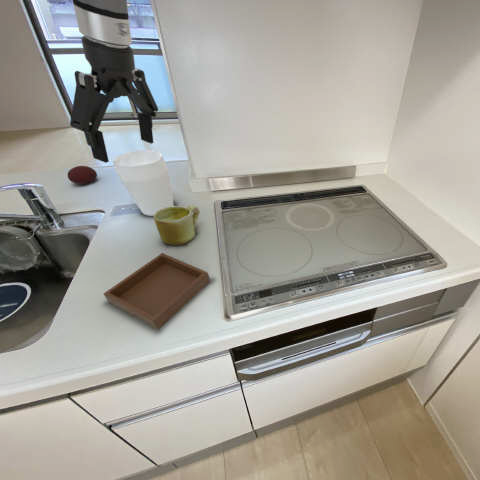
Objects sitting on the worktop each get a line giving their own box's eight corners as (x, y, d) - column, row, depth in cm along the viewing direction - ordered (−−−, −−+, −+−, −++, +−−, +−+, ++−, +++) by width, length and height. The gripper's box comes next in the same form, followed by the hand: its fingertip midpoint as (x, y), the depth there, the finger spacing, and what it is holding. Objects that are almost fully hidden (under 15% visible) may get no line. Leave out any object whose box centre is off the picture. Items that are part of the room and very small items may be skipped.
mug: (168, 251, 67) (158, 213, 64) (155, 244, 74) (145, 209, 70) (213, 238, 75) (206, 204, 72) (197, 233, 82) (191, 202, 79)
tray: (109, 302, 56) (102, 293, 54) (166, 261, 67) (162, 252, 65) (158, 329, 52) (152, 320, 50) (210, 281, 63) (207, 272, 61)
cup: (139, 223, 78) (113, 170, 68) (133, 204, 86) (109, 154, 75) (184, 211, 85) (167, 161, 74) (174, 195, 92) (158, 147, 82)
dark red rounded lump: (69, 182, 95) (60, 167, 92) (95, 175, 100) (87, 160, 97) (76, 189, 92) (66, 173, 88) (102, 181, 97) (94, 166, 93)
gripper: (60, 49, 38) (94, 176, 51) (171, 48, 57) (175, 140, 70) (10, 29, 37) (57, 162, 51) (139, 35, 57) (149, 130, 70)
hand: (126, 149), depth 61 cm, fingers open, 13 cm apart
